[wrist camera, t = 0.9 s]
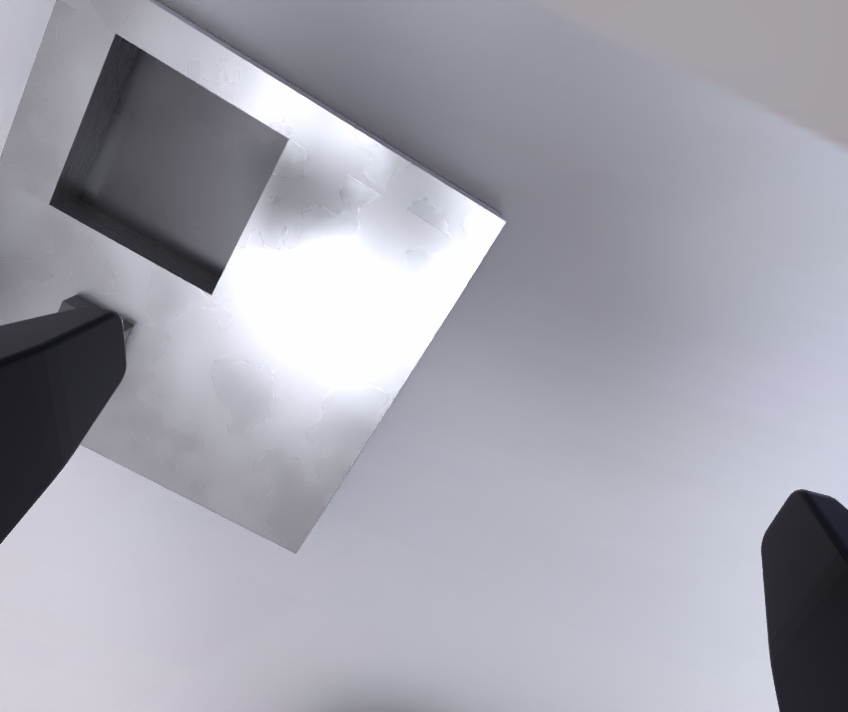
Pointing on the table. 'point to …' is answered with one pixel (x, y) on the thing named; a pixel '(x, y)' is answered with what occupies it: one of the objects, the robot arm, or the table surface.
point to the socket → (225, 257)
